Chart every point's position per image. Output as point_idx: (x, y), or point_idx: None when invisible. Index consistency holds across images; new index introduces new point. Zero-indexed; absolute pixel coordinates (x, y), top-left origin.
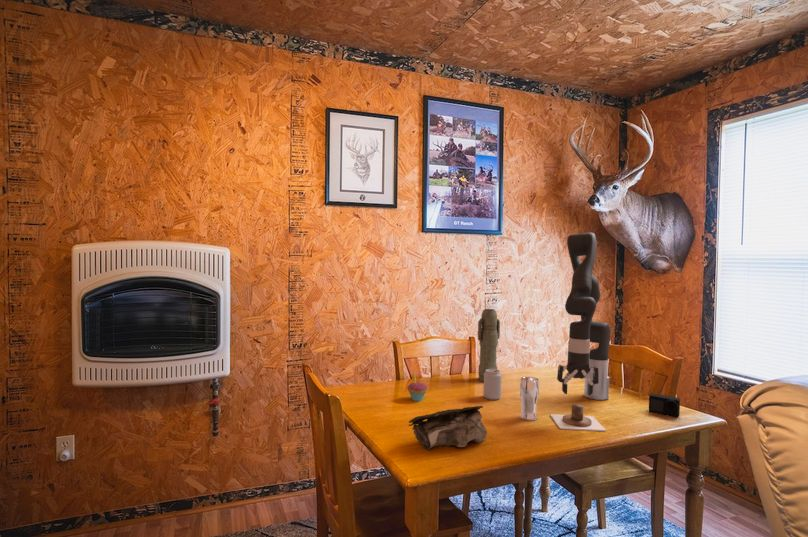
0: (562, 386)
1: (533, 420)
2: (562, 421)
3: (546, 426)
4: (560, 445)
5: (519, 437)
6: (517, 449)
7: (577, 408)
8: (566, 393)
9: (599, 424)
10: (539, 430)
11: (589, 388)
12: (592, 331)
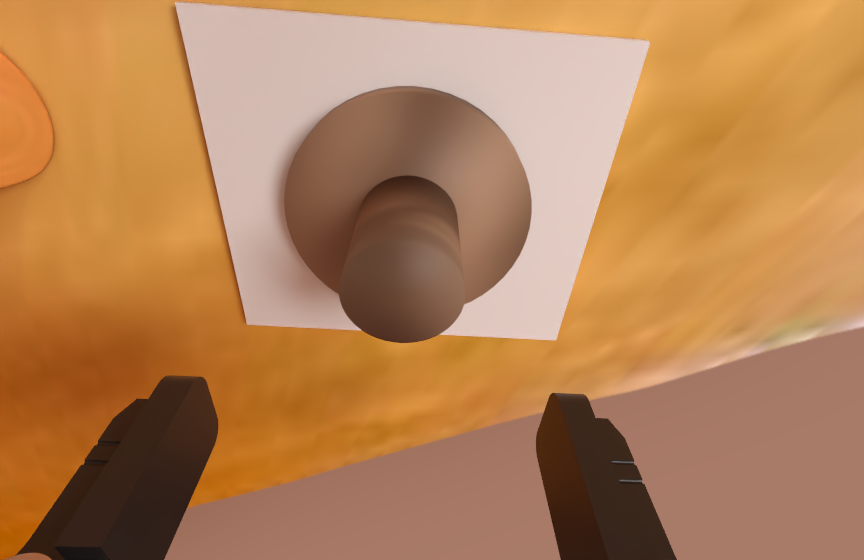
0: (77, 496)
1: (31, 177)
2: (283, 213)
3: (156, 279)
4: (233, 470)
5: (19, 419)
6: (48, 500)
7: (384, 332)
8: (206, 441)
9: (573, 252)
10: (114, 340)
11: (562, 551)
12: None
